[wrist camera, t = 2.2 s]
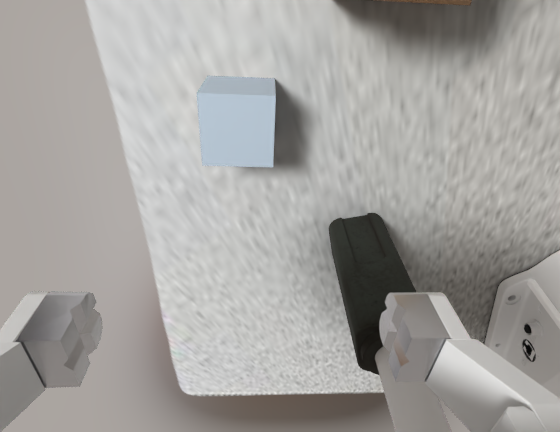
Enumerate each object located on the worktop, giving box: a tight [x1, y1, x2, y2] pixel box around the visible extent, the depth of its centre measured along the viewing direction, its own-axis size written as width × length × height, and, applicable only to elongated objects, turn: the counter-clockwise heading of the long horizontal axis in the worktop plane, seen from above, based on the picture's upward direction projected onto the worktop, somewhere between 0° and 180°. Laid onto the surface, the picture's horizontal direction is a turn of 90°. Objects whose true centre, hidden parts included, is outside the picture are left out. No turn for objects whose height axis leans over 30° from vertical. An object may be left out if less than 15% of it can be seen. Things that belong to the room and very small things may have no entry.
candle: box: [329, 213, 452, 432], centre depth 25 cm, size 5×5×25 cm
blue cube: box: [197, 76, 276, 167], centre depth 27 cm, size 5×5×5 cm
